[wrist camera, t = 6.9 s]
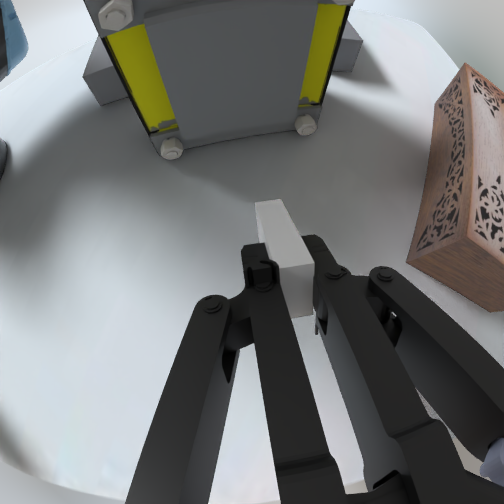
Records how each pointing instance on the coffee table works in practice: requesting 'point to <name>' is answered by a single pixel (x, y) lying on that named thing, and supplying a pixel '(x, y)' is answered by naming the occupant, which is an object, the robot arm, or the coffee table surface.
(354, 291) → the robot arm
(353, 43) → the block
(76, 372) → the coffee table surface
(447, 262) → the tissue box cover
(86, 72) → the block
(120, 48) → the electrical component
